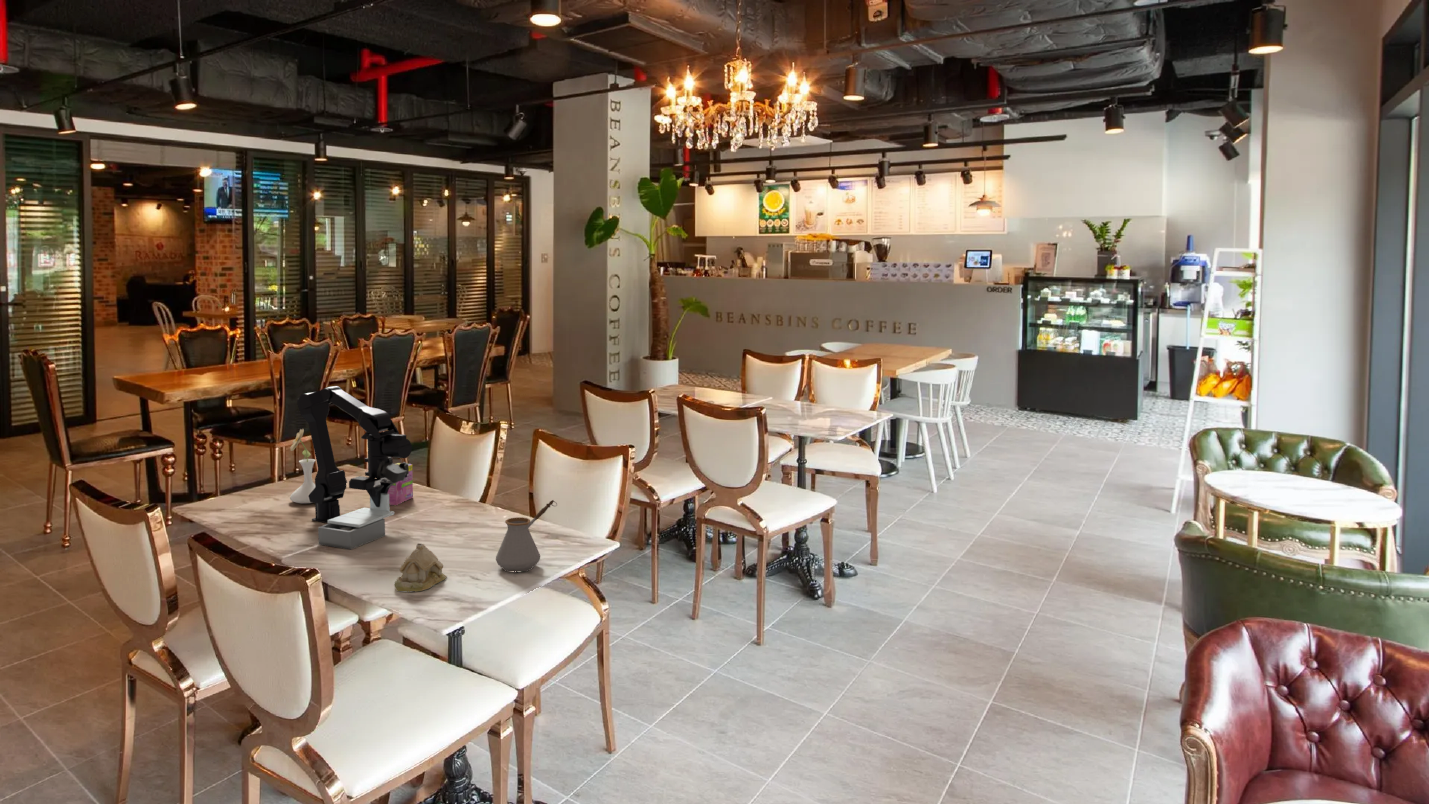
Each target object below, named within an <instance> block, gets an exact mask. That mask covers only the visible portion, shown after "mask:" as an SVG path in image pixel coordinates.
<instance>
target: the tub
mask: <svg viewBox="0 0 1429 804" xmlns="http://www.w3.org/2000/svg"><path fill="white" fill-rule="evenodd" d="M317 531H318V532H317V535H318V546H324V545H326V546H325V547H331V548H339V549H343V548H345V549H344V550H353V549H356V548H358V547H360V545H361V546H363V545H365V544H369V543H370V542H373V541H375V539H376V540H378V539H380V538H383V537H385V536H386V520H385V518H383V519H381V520H378V521H375V522H373V523H370V524H367V525H365V526H362V527H352V526H345V525H338V524H331V523H325V524H323V525H321V526H318V527H317Z"/></svg>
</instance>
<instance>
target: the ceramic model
mask: <svg viewBox="0 0 1429 804" xmlns="http://www.w3.org/2000/svg"><path fill="white" fill-rule="evenodd" d="M443 568H444V564H443V563H442V562H441V561H440V560H439V558H438V557H437V556H436V555H435V553H434V552H433V551H431V550H430V549H429V548H428V547H427V546H426V545H425V544H424V543H417V544H416V546H415V549H413V550H412V552H411V553H410V555H409V556H407V557H406V558H405V560H404V561H403V563H402V565H401V566H400V567H399V572H400V573H401V576H398V577H397V579H396V580H395V582H394V585H393V586H394V588H395V590H396V592H399V591H407V592H406V593H411V592H410V591H415V592H422V591H424V590H428V589H430V588H432V587H433V586H434V585H436V584H438V583H440V582H442V581H444V580H446V579H447V577H448V575H446V574H445V573H443ZM408 591H409V592H408Z"/></svg>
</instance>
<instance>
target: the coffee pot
mask: <svg viewBox="0 0 1429 804" xmlns="http://www.w3.org/2000/svg"><path fill="white" fill-rule="evenodd" d="M554 503H555V505H553V504H554ZM551 506H553V507H557V506H558V503H557V502H556V501H554V499H552V500H550V501H549V502H548V503H546V505H545V506H544V507H543V508H541V510H539V512H537V514H536V515H535V516H534V517H533V519H530V518H528V517H518V516H517V517H511V518H506V519H505V522H504V523H505V524H506V525H507V530H506V533H505V534H504V537H503V539H502V542H501V544H500V547H499V549H498V551H497V553H496V556H495V562H496V563H497V565H498V566H499V567H500V568H501V569H503V568H504V569H503V571H505V570H506V571H505V572H507V571H514V572H515V571H516V572H517V571H526V572H528V571H527V570H529V569H531V568H532V567H533V568H534V567H535V566H536V565H537V564H538V563H539V562H540V560H541V554H540V552H539V549H538V547H537V545H536V543H535V541H534V538H533V536H532V534H531V532H530V530H529V528H531V526H532V525H533V524H534V523H535V522H536V521H537V520H539V518H540V517H541V516H543V515H544V514H545V513H546V511H548V509H549V508H551ZM533 568H532V569H533ZM532 569H531V570H532ZM529 571H530V570H529ZM514 572H513V573H514Z"/></svg>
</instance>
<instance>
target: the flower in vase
mask: <svg viewBox="0 0 1429 804" xmlns="http://www.w3.org/2000/svg"><path fill="white" fill-rule="evenodd" d="M304 431H305V430H304V428H302V429H301V428H300V429H299V432H297V433H296V437H295V439H293V440H292V444H291V446H290V447H289V449H290V452H291V451H292V452H293V451H294V450H295V449H296V448H297V447H298V445H299V443H300V444H301V445H302V446H303V448H304V450H303V451H302V455H303V458H302V459H300V460H298V463H299V464H300V465H301V467H302V470H303V479H304V480H303V483H302V484H301V485H300V486H299V487H298V488H296V489H295V490H294V491H293V492H292V493H291V494H290V496H289V500H290V501H291V502H294V503H296V504H313V503H312V502H310V500H309V494H310V493H311V492H312V491H313V490H314V488H315V482H314V481H313V478H312V477H313V476H312V475H313V467H314V464H315V462H317V461H316V459H314V458H309V457H310V456H311V455H312V454H311V453H310V451H309V450H308V449H307V448H306V446H305V445H304V443H303V441H302V438H303V436H304Z"/></svg>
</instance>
